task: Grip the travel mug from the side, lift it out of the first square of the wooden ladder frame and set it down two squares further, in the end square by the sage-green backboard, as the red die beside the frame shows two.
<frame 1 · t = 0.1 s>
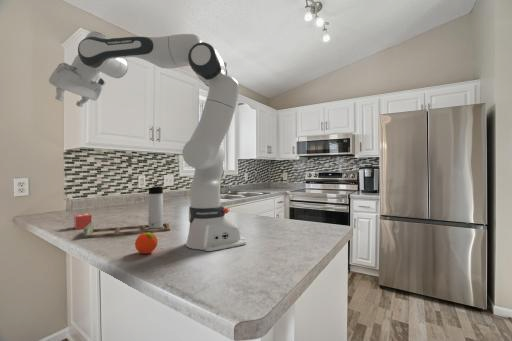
hand: (69, 103, 99), 54 cm above the countertop, tool tilted 30°, fingers open, 8 cm apart
red die: (82, 227, 118), on the countertop
wooden ladder frame: (130, 231, 112), on the countertop
travel mug: (156, 229, 116), resting in wooden ladder frame
clementine: (147, 254, 83), on the countertop
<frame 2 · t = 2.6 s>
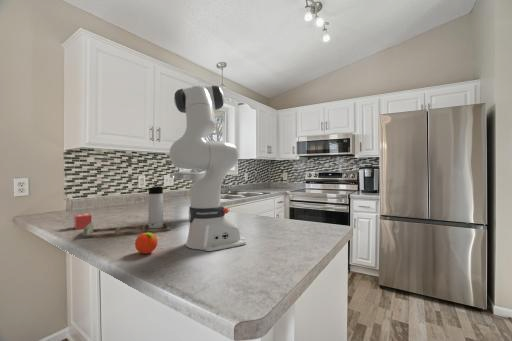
hand: (176, 176, 125), 24 cm above the countertop, tool horizontal, fingers open, 8 cm apart
nothing on the countertop moved.
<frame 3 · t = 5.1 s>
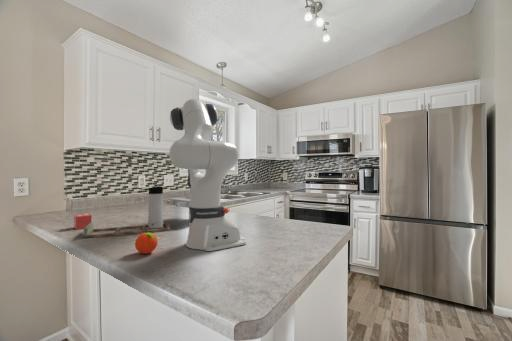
hand: (170, 203, 122), 11 cm above the countertop, tool horizontal, fingers open, 8 cm apart
nothing on the countertop moved.
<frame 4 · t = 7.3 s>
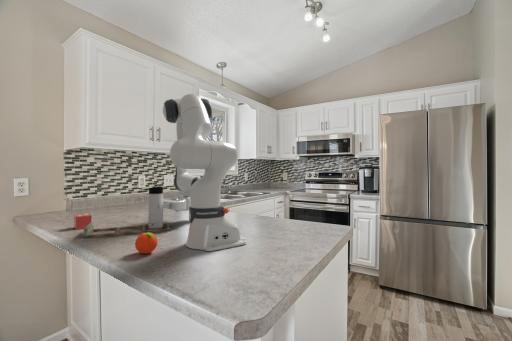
hand: (154, 205, 115), 11 cm above the countertop, tool horizontal, fingers closed on travel mug, 6 cm apart
travel mug: (156, 229, 116), resting in wooden ladder frame, touching gripper
everything else where it was.
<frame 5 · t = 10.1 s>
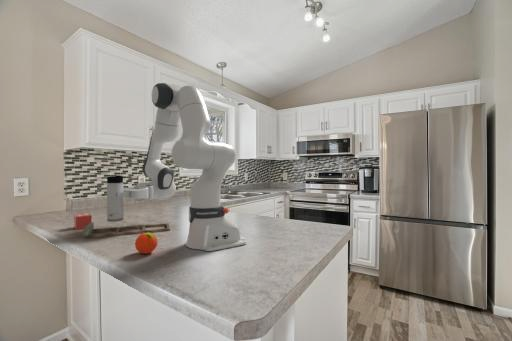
hand: (113, 194, 109), 17 cm above the countertop, tool horizontal, fingers closed on travel mug, 6 cm apart
travel mug: (115, 220, 110), point 5 cm above the countertop, touching gripper
everything else where it was.
when the fingers open (12 cm above the countertop, at t = 12.6 s): travel mug stays where it is, resting in wooden ladder frame.
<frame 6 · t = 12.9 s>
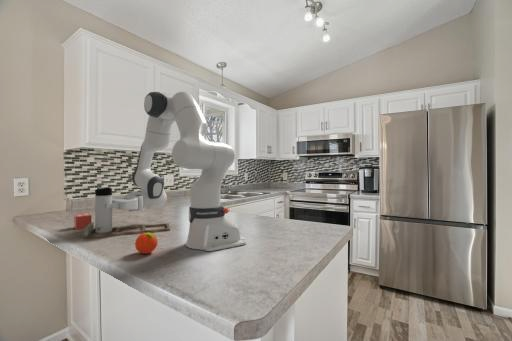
hand: (101, 205, 107), 12 cm above the countertop, tool horizontal, fingers open, 8 cm apart
travel mug: (104, 233, 108), resting in wooden ladder frame
everything else where it was.
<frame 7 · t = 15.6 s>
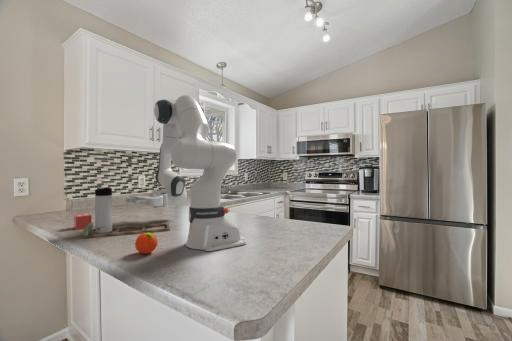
hand: (130, 201, 117), 13 cm above the countertop, tool horizontal, fingers open, 8 cm apart
nothing on the countertop moved.
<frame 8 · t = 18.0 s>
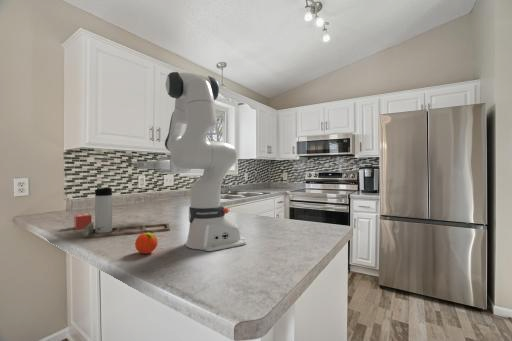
hand: (137, 164, 118), 30 cm above the countertop, tool horizontal, fingers open, 8 cm apart
nothing on the countertop moved.
at the end: travel mug 0.2 cm from the target spot on the wooden ladder frame, point 0.0 cm above the wooden ladder frame's base; travel mug tilted 0°; the gripper is holding nothing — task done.
